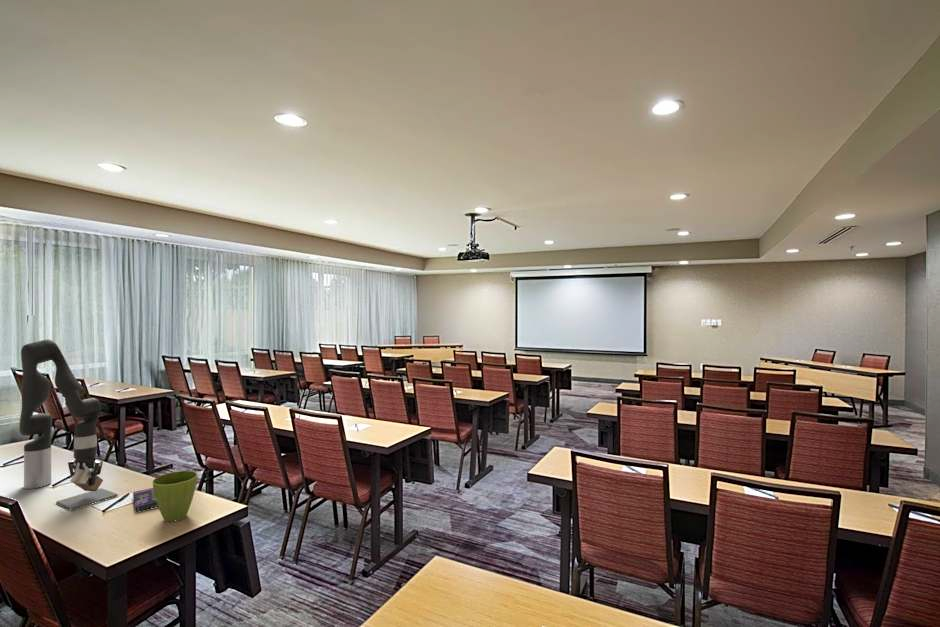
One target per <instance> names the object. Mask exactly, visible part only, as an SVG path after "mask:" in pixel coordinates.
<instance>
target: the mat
mask: <svg viewBox="0 0 940 627" xmlns="http://www.w3.org/2000/svg"><path fill="white" fill-rule="evenodd" d="M115 496H117V497H118V493H116V492H113V491H110V490H108V489H104V488H102V487H101V488H98V489H97V491H86V492H84V493H80V494H77V495H74V496H70V497H67V498H63V499H60V500H56V501H55V503H56V505H58V504H59V506H60V505H61V506H60V507H63V508H65V507H66V508H65V509H67V508H68V510H70V509H71V510H70V511H74V509H76V510H78V509H77V508H79V509H81V508H80V507H82V508H84V507H83V506H85V507H87V506H86V505H88V506H90V505H89V504H92V503H95V502H98V501H101V502H103V501H102V500H104V501H106V500H105V499H108V498H111V499H113V498H112V497H114V498H116V497H115ZM108 500H109V499H108ZM98 503H99V502H98ZM95 504H96V503H95ZM92 505H93V504H92Z"/></svg>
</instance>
